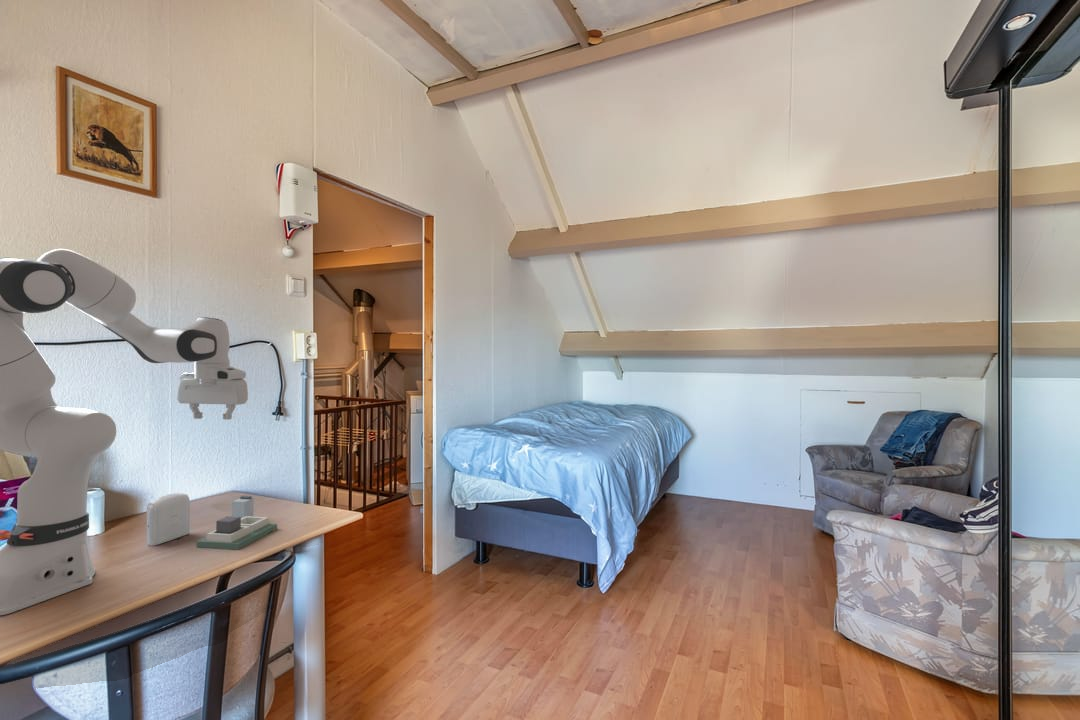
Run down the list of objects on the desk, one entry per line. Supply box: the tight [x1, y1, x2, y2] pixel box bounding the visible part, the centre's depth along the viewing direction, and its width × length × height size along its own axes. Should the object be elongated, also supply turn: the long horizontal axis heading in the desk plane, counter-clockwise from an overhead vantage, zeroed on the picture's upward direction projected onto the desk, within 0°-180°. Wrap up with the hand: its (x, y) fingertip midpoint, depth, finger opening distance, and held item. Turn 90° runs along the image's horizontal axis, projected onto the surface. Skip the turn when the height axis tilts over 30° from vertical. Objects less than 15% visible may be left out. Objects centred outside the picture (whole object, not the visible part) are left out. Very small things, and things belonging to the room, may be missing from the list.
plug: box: [231, 495, 255, 518], centre depth 151 cm, size 4×4×8 cm
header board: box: [196, 515, 278, 551], centre depth 138 cm, size 16×12×6 cm
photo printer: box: [146, 492, 191, 547], centre depth 136 cm, size 10×4×12 cm, turn 162°
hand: (212, 419), depth 146 cm, fingers open, 8 cm apart
